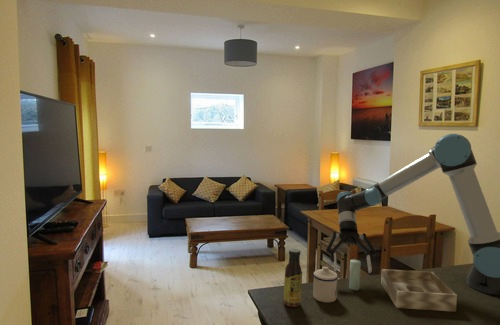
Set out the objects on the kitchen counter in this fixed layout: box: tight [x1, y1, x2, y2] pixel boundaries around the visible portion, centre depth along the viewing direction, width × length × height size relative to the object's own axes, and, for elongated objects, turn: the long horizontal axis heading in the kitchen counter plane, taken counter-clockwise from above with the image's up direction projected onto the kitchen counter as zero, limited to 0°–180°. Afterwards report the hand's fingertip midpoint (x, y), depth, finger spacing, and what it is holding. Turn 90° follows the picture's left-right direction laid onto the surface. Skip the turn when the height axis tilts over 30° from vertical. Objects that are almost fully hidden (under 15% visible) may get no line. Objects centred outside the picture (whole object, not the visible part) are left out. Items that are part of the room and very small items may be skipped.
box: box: [380, 268, 458, 312], centre depth 130 cm, size 20×20×6 cm
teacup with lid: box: [312, 266, 339, 304], centre depth 130 cm, size 12×9×12 cm
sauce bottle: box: [283, 248, 303, 308], centre depth 123 cm, size 6×6×20 cm
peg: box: [348, 259, 362, 291], centre depth 136 cm, size 4×4×11 cm
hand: (352, 270), depth 137 cm, fingers open, 13 cm apart
